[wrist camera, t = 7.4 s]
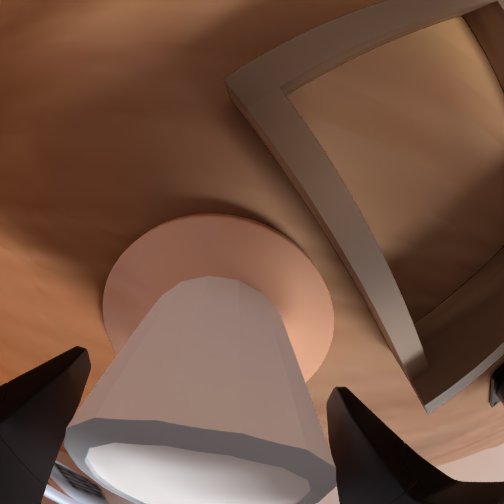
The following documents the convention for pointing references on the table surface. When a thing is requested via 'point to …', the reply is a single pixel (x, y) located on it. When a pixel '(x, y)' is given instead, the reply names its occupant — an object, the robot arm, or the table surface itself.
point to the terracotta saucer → (225, 266)
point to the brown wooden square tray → (345, 208)
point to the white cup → (205, 407)
